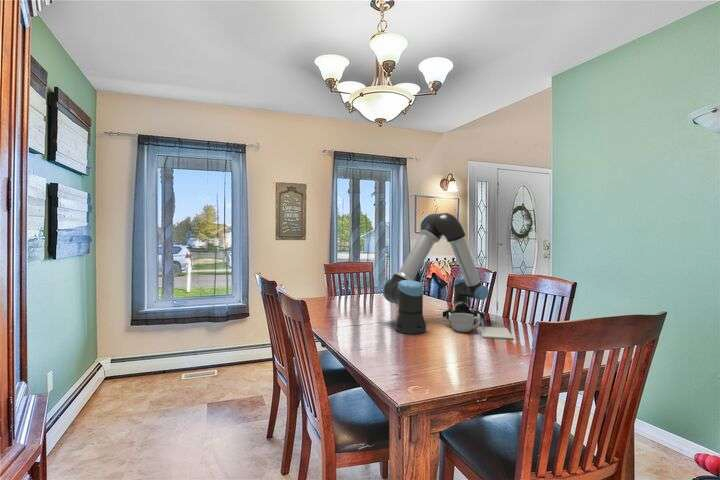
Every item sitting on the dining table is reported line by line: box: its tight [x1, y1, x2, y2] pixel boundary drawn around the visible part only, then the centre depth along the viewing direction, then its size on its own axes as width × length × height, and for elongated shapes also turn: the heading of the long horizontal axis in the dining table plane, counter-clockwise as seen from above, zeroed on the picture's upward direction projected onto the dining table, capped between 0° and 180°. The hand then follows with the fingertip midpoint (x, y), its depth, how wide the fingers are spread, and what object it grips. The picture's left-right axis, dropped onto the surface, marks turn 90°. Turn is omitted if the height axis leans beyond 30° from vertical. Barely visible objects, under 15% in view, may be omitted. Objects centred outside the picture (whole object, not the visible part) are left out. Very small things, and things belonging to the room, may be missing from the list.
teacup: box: [450, 313, 482, 333], centre depth 178 cm, size 14×11×8 cm
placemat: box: [478, 325, 515, 341], centre depth 174 cm, size 13×19×1 cm
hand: (464, 318), depth 178 cm, fingers open, 13 cm apart
